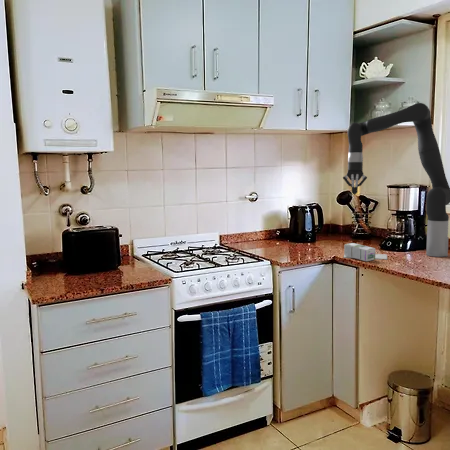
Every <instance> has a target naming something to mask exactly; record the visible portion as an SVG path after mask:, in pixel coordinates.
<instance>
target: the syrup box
mask: <svg viewBox="0 0 450 450" xmlns="http://www.w3.org/2000/svg"><path fill="white" fill-rule="evenodd" d="M343 249H344V250H343V252H344V253H343V254H344V255H346V256H349V257H352V258H351V259H356V260H360V261H364V262H370V261H375V260H376V259H375V254H376V248H375V247H371V246H367V245H363V244H360V243H356V242H355V243H354V242H350V243H345V244H344V247H343ZM344 255H343V256H344Z"/></svg>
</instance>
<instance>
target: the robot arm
mask: <svg viewBox="0 0 450 450" xmlns="http://www.w3.org/2000/svg"><path fill="white" fill-rule="evenodd" d="M431 117H432V116H431V110H430V108H429V107H428V106H427V105H426V103H423V102H417V103H414V104H411V105H410V106H408V107H405V108H402V109H401V110H396V111H395V112H391V113H388V114H385V115H384V114H383V115H381V116H377V117H373V118H369V119H367V120H366V121H362V122H352V123H350V124H349V125H348V127H347V138H348V139H347V140H348V157H347V172H346V175H344V176H343V177H342V179H343V180H344V182H345V183H346V184H347V186H348V187H351V193H352V194H353V195H357V194H358V189H359V187H361V186H362V185H363V184H364V182H365V181H366V180H367V179H368V176H366V175H364V172H363V167H364V165H363V163H364V157H363V143H362V142H363V141H362V137H363V136H365V135H368V134H371V133H377V132H381V131H384V130H388V129H390V128H392V127H393V126H396V125H399V124H403V123H409V122H412V123H413V127H415V131H416V135H417V150H418V155H419V160H420V162H421V165H422V167H423V169H424V171H425V172H426V174H427V175H428V177H429V179H430V181H431V182H430V183H431V187H432V188H431V189H429V190H428V192H427V194H426V197H425V198H426V207H425V209H426V210H425V212H426V216H427V229H426V230H427V231H426V233H427V234H426V249H425V250H426V253H425V254H426V256H429V257H439V258H441V257H448V255H449V253H448V252H449V236H448V235H449V220H450V219H449V214H448V213H447V211H446V210H447V209H446V208H447V205H449V204H450V185H449V181H448V179H447V177H446V172H445V169H444V163H443V160H442V155H441V150H440V146H439V143H438V141H437V138H436V135H435V133H434V129H433V123H432V118H431ZM348 178H349V179H348ZM361 179H362V180H361ZM349 180H350V181H351V182H350V181H349ZM360 180H361V181H360ZM359 181H360V182H359Z"/></svg>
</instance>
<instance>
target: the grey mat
mask: <svg viewBox="0 0 450 450" xmlns="http://www.w3.org/2000/svg"><path fill="white" fill-rule="evenodd" d="M342 257H343V258H345V259H353V258H352V257H349V256H346V255H343V256H342ZM382 259H384V260H386V261H387V260H388V254H384V253H383V254H382V253H375V260H382Z"/></svg>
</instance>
